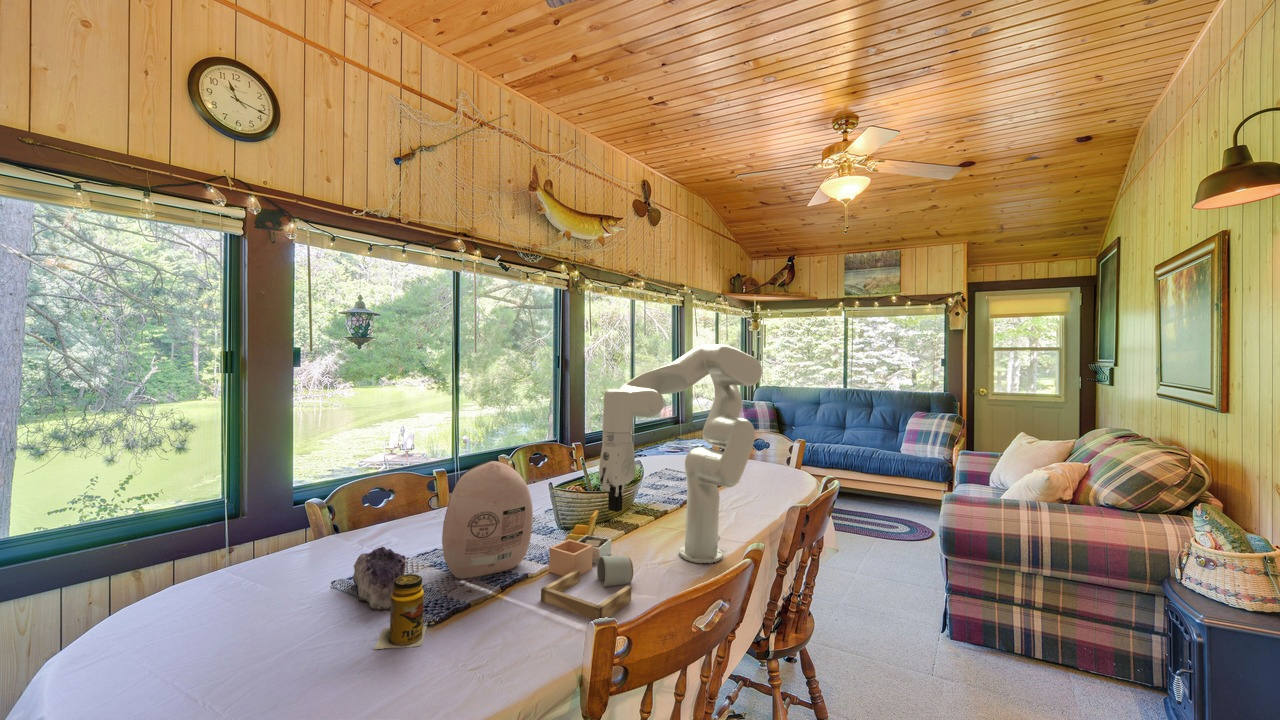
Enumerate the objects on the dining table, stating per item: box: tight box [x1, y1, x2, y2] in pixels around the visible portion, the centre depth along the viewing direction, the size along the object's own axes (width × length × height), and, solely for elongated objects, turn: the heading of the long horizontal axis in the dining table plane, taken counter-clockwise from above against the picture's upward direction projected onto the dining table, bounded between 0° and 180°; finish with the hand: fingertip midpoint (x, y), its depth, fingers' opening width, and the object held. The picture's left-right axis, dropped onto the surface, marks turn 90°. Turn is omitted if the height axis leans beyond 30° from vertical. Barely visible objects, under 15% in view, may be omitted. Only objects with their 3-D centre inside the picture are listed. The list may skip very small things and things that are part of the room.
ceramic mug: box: [596, 555, 634, 588], centre depth 136 cm, size 10×8×7 cm
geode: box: [352, 546, 407, 612], centre depth 125 cm, size 20×12×10 cm, turn 35°
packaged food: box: [441, 460, 534, 580], centre depth 137 cm, size 22×20×30 cm
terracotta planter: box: [548, 539, 593, 577], centre depth 140 cm, size 8×8×7 cm
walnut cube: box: [585, 540, 601, 548], centre depth 150 cm, size 4×4×4 cm
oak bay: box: [540, 570, 633, 620], centre depth 124 cm, size 13×16×4 cm
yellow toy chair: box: [564, 509, 600, 541], centre depth 164 cm, size 10×10×9 cm
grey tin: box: [577, 535, 612, 565], centre depth 150 cm, size 8×8×5 cm
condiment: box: [373, 573, 428, 650], centre depth 106 cm, size 7×8×12 cm
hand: (615, 510), depth 134 cm, fingers closed
